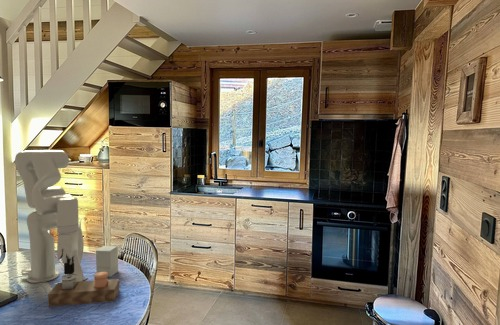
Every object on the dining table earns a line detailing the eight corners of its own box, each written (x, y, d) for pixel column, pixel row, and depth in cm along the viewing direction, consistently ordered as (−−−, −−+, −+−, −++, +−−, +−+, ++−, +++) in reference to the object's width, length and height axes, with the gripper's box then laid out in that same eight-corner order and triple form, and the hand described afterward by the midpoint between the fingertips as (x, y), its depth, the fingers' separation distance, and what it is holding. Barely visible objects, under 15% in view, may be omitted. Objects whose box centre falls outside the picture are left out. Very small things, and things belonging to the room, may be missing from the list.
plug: (60, 294, 128) (59, 279, 128) (64, 288, 133) (64, 274, 133) (74, 293, 129) (74, 278, 129) (78, 287, 134) (78, 273, 134)
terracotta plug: (92, 292, 131) (92, 277, 130) (96, 286, 136) (96, 272, 135) (106, 291, 132) (106, 276, 131) (109, 285, 137) (109, 271, 136)
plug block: (48, 306, 126) (48, 294, 125) (58, 294, 135) (58, 282, 135) (114, 301, 130) (114, 289, 130) (119, 290, 140) (119, 278, 140)
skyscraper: (90, 279, 150) (88, 219, 148) (75, 286, 143) (74, 223, 141) (75, 276, 153) (74, 218, 151) (60, 283, 145) (59, 222, 143)
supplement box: (118, 271, 160) (118, 245, 159) (110, 277, 153) (110, 251, 152) (104, 270, 161) (104, 245, 160) (95, 276, 153) (95, 250, 153)
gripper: (64, 224, 136) (65, 266, 137) (50, 234, 121) (51, 281, 123) (84, 223, 138) (85, 265, 139) (71, 233, 123) (73, 280, 124)
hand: (69, 273), depth 131 cm, fingers closed
